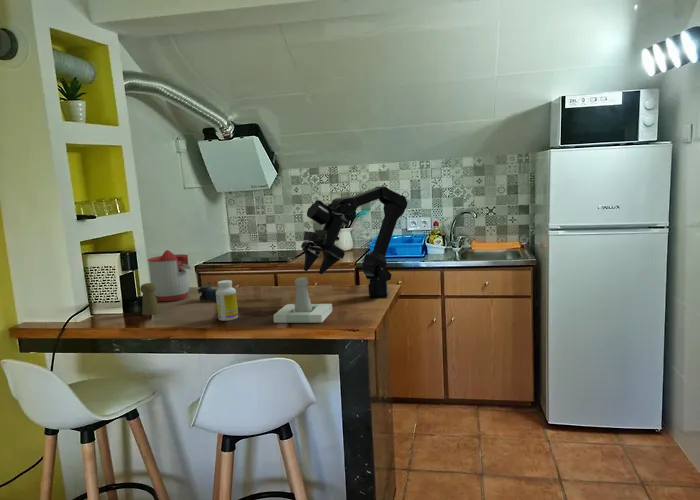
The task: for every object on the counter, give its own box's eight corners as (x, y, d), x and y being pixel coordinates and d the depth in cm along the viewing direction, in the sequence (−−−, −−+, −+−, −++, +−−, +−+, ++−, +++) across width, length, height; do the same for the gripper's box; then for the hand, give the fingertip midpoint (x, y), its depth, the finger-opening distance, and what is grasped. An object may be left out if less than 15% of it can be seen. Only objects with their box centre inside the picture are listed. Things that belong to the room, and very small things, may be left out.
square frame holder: (332, 310, 187) (331, 303, 187) (321, 322, 173) (321, 314, 173) (287, 311, 190) (287, 304, 190) (273, 322, 177) (273, 315, 176)
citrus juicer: (179, 304, 212) (173, 253, 209) (143, 302, 218) (137, 253, 215) (204, 294, 226) (199, 246, 223) (170, 293, 233) (164, 247, 230)
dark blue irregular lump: (199, 306, 213) (226, 308, 209) (196, 287, 210) (223, 289, 207) (212, 296, 221) (238, 298, 217) (208, 278, 219) (235, 280, 215)
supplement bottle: (242, 316, 187) (238, 279, 185) (231, 321, 181) (228, 283, 179) (225, 315, 190) (221, 279, 188) (214, 321, 183) (210, 283, 182)
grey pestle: (309, 319, 178) (307, 279, 177) (293, 319, 180) (290, 280, 178) (314, 314, 184) (311, 276, 182) (298, 314, 185) (295, 276, 183)
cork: (143, 316, 196) (139, 286, 195) (141, 312, 202) (137, 283, 200) (160, 313, 199) (157, 283, 197) (158, 310, 204) (154, 281, 203)
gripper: (298, 219, 192) (280, 259, 188) (329, 221, 177) (309, 265, 174) (322, 233, 198) (304, 273, 195) (353, 236, 183) (335, 279, 180)
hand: (312, 272), depth 186 cm, fingers open, 9 cm apart
